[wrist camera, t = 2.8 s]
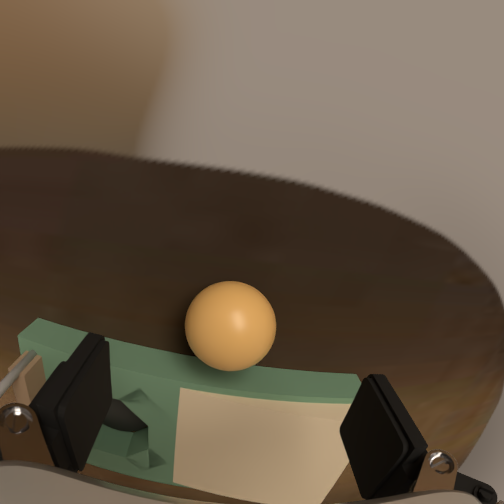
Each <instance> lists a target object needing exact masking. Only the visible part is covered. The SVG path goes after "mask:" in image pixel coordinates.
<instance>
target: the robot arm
mask: <svg viewBox="0 0 504 504" xmlns="http://www.w3.org/2000/svg"><path fill="white" fill-rule="evenodd" d="M111 403H112V385H111V370H110V346H109V342H108V341H105V337H104V336H102V335H98V334H94V333H91V332H89V333H88V334H87V335H86V336H85V337H84V339H83V340H82V341H81V343H80V344H79V345H78V347H77V348H76V349H75V351H74V352H73V353H72V355H71V356H70V357H69V359H68V360H67V361H62V362H61V363H60V364H59V365H58V366H57V367H56V369H55V370H54V371H53V373H52V374H51V375H50V377H49V378H48V379H47V381H46V382H45V383H44V385H43V386H42V388H41V389H40V390H39V392H38V393H37V394H36V396H35V397H34V399H33V400H32V401H31V403H30V404H29V406H27V405H25V404H21V403H10V404H6V405H4V406H3V407H1V408H0V504H222V503H213V502H204V501H196V500H189V499H182V498H176V497H170V496H165V495H160V494H155V493H150V492H146V491H141V490H137V489H133V488H128V487H124V486H120V485H116V484H113V483H109V482H106V481H102V480H99V479H95V478H92V477H89V476H85V475H82V474H79V473H77V471H78V470H79V471H82V470H83V469H84V467H85V464H86V462H87V459H88V457H89V454H90V452H91V450H92V447H93V445H94V443H95V440H96V438H97V435H98V433H99V431H100V428H101V426H102V424H103V422H104V419H105V417H106V415H107V413H108V410H109V408H110V406H111ZM339 431H340V436H341V439H342V442H343V445H344V448H345V450H346V453H347V456H348V459H349V462H350V465H351V468H352V471H353V473H354V476H355V479H356V482H357V485H358V488H359V491H360V494H361V496H362V498H364V499H366V500H363V501H355V502H347V503H337V504H504V502H503V501H501V500H500V501H499V502H497V494H496V492H495V490H494V489H493V488H492V487H491V486H489V485H488V484H486V483H483V482H481V481H478V480H476V479H473V478H471V477H468V476H466V475H464V474H461V473H459V472H457V470H458V464H457V461H456V460H455V458H454V457H453V456H452V455H451V454H450V453H448V452H446V451H444V450H440V449H435V450H431V451H429V452H427V450H426V448H427V447H428V445H427V443H426V441H425V440H424V438H423V436H422V435H421V433H420V431H419V430H418V428H417V426H416V425H415V423H414V421H413V420H412V418H411V417H410V415H409V413H408V412H407V410H406V408H405V407H404V405H403V404H402V402H401V400H400V399H399V397H398V395H397V394H396V392H395V391H394V389H393V388H392V386H391V384H390V383H389V381H388V380H387V378H386V376H385V375H383V374H370V375H368V377H367V378H364V379H363V381H362V383H361V385H360V387H359V389H358V392H357V394H356V396H355V398H354V400H353V402H352V404H351V406H350V408H349V410H348V412H347V414H346V416H345V418H344V420H343V422H342V424H341V426H340V430H339Z"/></svg>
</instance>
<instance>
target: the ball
mask: <svg viewBox="0 0 504 504" xmlns="http://www.w3.org/2000/svg"><path fill="white" fill-rule="evenodd" d="M185 333H186V338H187V341H188V343H189V346H190V348H191V349H192V351H193V352H194V354H195V355H196V356H197V357H198V358H199V359H200V360H201V361H202V362H204V363H205V364H207V365H208V366H210V367H213V368H215V369H218V370H223V371H239V370H243V369H246V368H249V367H251V366H253V365H255V364H256V363H258V362H259V361H260V360H261V359H263V358H264V356H265V355H266V354H267V353H268V351H269V350H270V348H271V346H272V344H273V342H274V339H275V333H276V320H275V315H274V312H273V309H272V307H271V305H270V303H269V302H268V300H267V299H266V298H265V296H264V295H263V294H262V293H260V292H259V291H258V290H257V289H255V288H254V287H252V286H250V285H247V284H245V283H241V282H235V281H225V282H219V283H216V284H213V285H211V286H209V287H207V288H205V289H204V290H202V291H201V292H200V293H199V294H198V295H197V296H196V297H195V298H194V300H193V301H192V303H191V304H190V306H189V308H188V311H187V314H186V319H185Z"/></svg>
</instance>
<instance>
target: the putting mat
mask: <svg viewBox="0 0 504 504" xmlns="http://www.w3.org/2000/svg"><path fill="white" fill-rule="evenodd" d="M87 334H88V333H87V332H84V331H80V330H77V329H73V328H70V327H66V326H63V325H60V324H56V323H53V322H50V321H47V320H43V319H40V318H37V319H36V320H35V321H34V322H33V323H32V324H30V325H29V326H28V327H27V328H26V329H25V330H23V331H22V332H21V333H20V334H19V335H18V341H19V347H20V353H21V356H20V357H19V358H18V359H17V360H16V361H15V362H14V363H13V364H12V365H11V366H10V367H9V368H8V372H9V373H8V374H7V375H6V376H5V377H4V379H3V380H2V381H1V382H0V397H1V396H2V395H3V394H4V393H5V392H6V390H7V389H8V388H9V387H10V386H11V385H12V387H13V391H14V395H15V398H16V401H17V403H21V404H25V405H27V406H29V404H30V403H31V401H32V400H33V399H34V397H35V396H36V394H37V393H38V392H39V390H40V389H41V388H42V386H43V385H44V383H45V382H46V381H47V379H48V378H49V377H50V375H51V374H52V373H53V371H54V370H55V369H56V367H57V366H58V365H59V364H60V363H61V362H62V361H67V360H68V359H69V357H70V356H71V355H72V353H73V352H74V351H75V349H76V348H77V347H78V345H79V344H80V343H81V341H82V340H83V339H84V337H85V336H86V335H87ZM105 341H108V342H109V346H110V370H111V385H112V403H111V406H110V408H109V410H108V413H107V415H106V417H105V419H104V422H103V424H102V426H101V428H100V431H99V433H98V435H97V438H96V440H95V443H94V445H93V447H92V450H91V452H90V454H89V457H88V459H87V462H86V463H88V464H91V465H94V466H97V467H101V468H104V469H107V470H111V471H114V472H118V473H121V474H125V475H129V476H133V477H137V478H141V479H146V480H150V481H155V482H160V483H165V484H170V485H175V486H181V487H188V488H194V489H198V490H202V491H206V492H210V493H214V494H218V495H222V496H227V497H231V498H236V499H241V500H247V501H252V502H258V503H264V504H321V502H322V501H323V499H324V498H325V497H326V495H327V494H328V492H329V491H330V490H331V488H332V487H333V485H334V484H335V482H336V481H337V479H338V478H339V476H340V475H341V473H342V472H343V470H344V469H345V467H346V466H347V464H348V462H349V459H348V456H347V453H346V450H345V448H344V445H343V442H342V439H341V436H340V431H339V430H340V426H341V424H342V422H343V420H344V418H345V416H346V414H347V412H348V410H349V408H350V406H351V404H352V402H353V400H354V398H355V396H356V394H357V392H358V389H359V387H360V385H361V382H360V380H359V378H358V377H357V375H356V374H342V373H326V372H312V371H300V370H289V369H280V368H270V367H262V366H254V365H253V366H251V367H249V368H246V369H243V370H239V371H223V370H218V369H215V368H213V367H210V366H208V365H207V364H205V363H204V362H202V361H201V360H200V359H199V358H198V357H194V356H189V355H183V354H178V353H173V352H168V351H163V350H158V349H153V348H149V347H144V346H139V345H135V344H131V343H126V342H122V341H118V340H114V339H110V338H106V337H105ZM147 425H148V427H146V426H147ZM144 427H145V428H144ZM130 431H136V432H130Z"/></svg>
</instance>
